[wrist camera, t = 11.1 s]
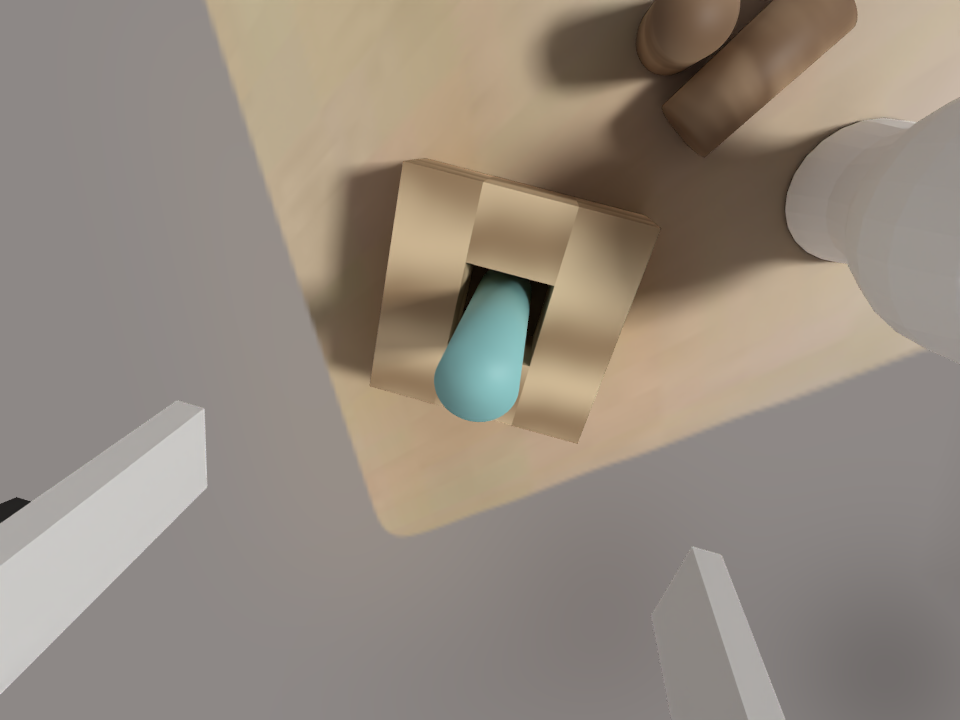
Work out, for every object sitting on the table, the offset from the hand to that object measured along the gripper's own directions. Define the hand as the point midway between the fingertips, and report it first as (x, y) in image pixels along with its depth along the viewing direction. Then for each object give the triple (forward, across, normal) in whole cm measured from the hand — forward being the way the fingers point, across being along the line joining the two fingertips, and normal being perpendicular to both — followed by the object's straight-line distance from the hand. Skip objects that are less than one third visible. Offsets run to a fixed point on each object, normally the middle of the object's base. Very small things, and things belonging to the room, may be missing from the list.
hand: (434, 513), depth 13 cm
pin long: (+22, 0, -1) cm, 22 cm away
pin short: (+22, +5, +15) cm, 27 cm away
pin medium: (+20, +7, +11) cm, 24 cm away
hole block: (+22, 0, -1) cm, 22 cm away
